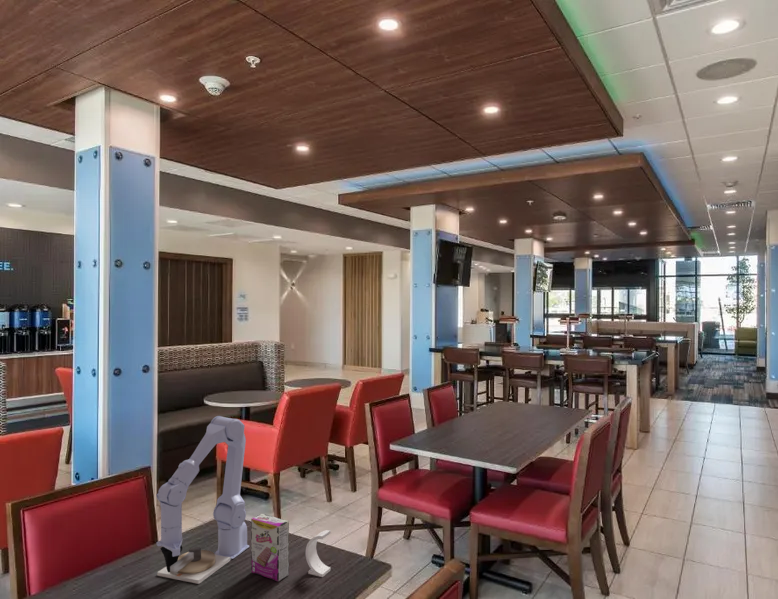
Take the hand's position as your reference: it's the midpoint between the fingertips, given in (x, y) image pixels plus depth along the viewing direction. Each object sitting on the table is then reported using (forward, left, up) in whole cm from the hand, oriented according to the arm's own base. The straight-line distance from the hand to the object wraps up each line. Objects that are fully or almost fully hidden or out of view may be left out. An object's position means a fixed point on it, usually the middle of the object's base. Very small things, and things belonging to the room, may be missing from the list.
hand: (171, 571), depth 157 cm
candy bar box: (-12, +26, -3) cm, 29 cm away
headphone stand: (-18, +39, -3) cm, 43 cm away
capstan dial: (-5, +2, -1) cm, 6 cm away
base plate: (-8, +2, -2) cm, 8 cm away
